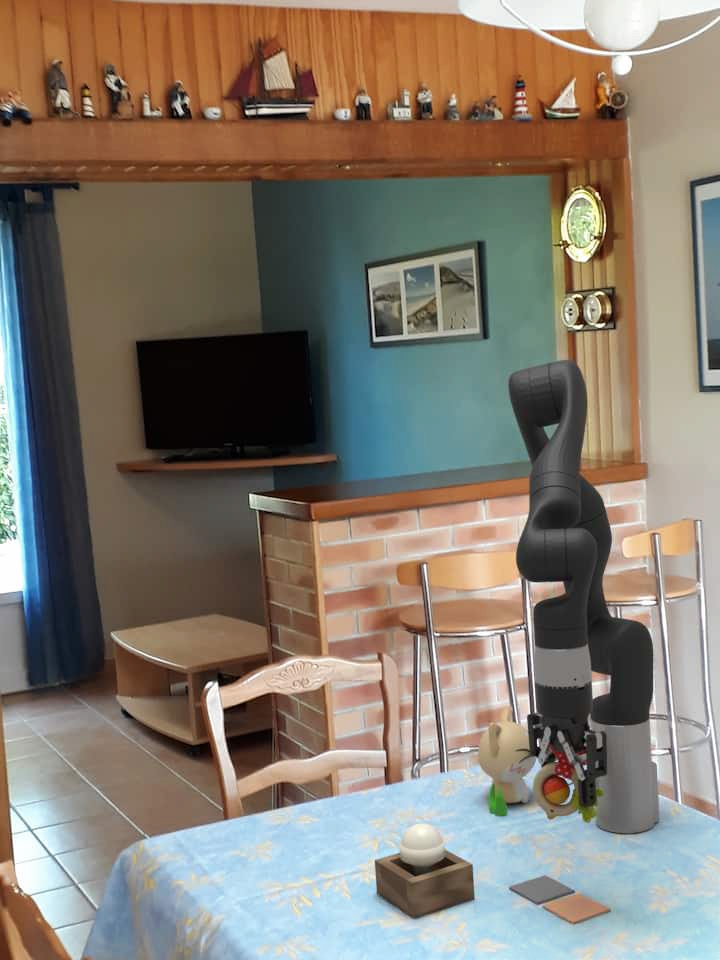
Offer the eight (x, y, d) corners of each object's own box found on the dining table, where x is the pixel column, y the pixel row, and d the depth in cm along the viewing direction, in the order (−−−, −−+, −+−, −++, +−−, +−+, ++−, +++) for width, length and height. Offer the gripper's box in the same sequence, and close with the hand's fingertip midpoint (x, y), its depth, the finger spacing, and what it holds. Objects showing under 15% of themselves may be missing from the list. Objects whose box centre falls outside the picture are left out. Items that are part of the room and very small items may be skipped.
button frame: (435, 876, 175) (433, 842, 175) (474, 899, 167) (472, 864, 166) (376, 894, 170) (374, 860, 170) (414, 918, 162) (411, 883, 161)
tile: (579, 894, 166) (579, 892, 166) (610, 910, 160) (610, 908, 160) (542, 907, 163) (541, 905, 163) (572, 924, 157) (572, 922, 157)
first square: (545, 877, 172) (545, 875, 172) (574, 892, 167) (574, 890, 167) (508, 888, 169) (508, 886, 169) (537, 904, 164) (537, 902, 164)
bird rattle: (552, 843, 158) (615, 816, 157) (514, 768, 158) (576, 741, 157) (553, 825, 165) (613, 800, 163) (517, 753, 165) (576, 727, 163)
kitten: (528, 819, 195) (523, 729, 194) (469, 815, 199) (464, 727, 198) (547, 788, 209) (543, 704, 208) (492, 785, 213) (487, 702, 212)
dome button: (430, 862, 173) (427, 813, 172) (455, 876, 167) (452, 825, 167) (392, 873, 170) (389, 823, 169) (416, 888, 164) (413, 836, 163)
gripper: (507, 672, 164) (514, 790, 165) (575, 692, 151) (582, 819, 152) (551, 663, 167) (557, 778, 169) (621, 682, 155) (626, 806, 156)
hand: (569, 797), depth 160 cm, fingers closed on bird rattle, 7 cm apart
